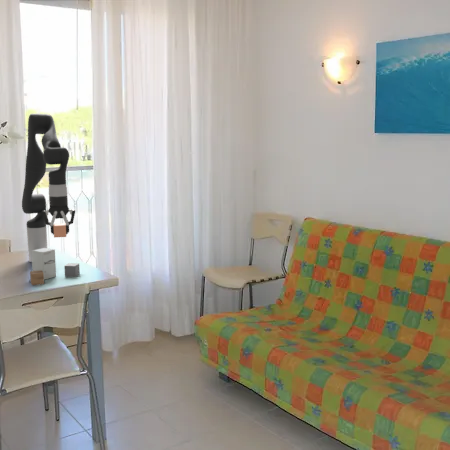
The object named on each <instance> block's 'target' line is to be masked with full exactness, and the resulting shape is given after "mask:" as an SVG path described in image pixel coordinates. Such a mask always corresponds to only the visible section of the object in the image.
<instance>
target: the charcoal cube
mask: <svg viewBox="0 0 450 450" xmlns="http://www.w3.org/2000/svg"><path fill="white" fill-rule="evenodd" d="M78 276H80V263H77V262H76V263H74V262H73V263H72V262H71V263H70V262H69V263H67V264H64V277H66V278H67V277H69V278H70V277H71V278H72V277H73V278H76V277H78Z"/></svg>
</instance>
